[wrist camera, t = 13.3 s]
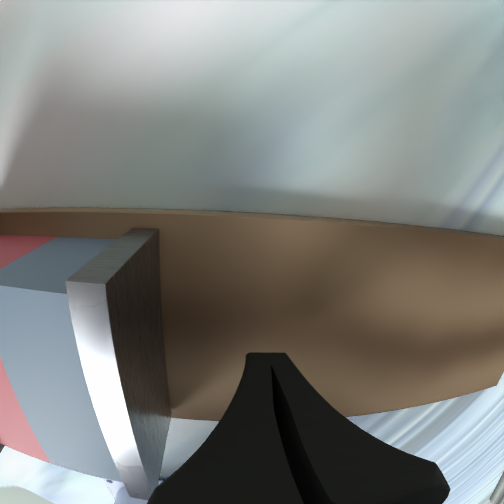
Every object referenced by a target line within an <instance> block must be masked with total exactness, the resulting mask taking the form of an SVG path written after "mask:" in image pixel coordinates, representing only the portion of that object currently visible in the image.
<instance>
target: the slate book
mask: <svg viewBox="0 0 504 504" xmlns="http://www.w3.org/2000/svg"><path fill="white" fill-rule="evenodd" d="M116 240H117V239H97V238H71V237H56V238H54V239H52V240H51V241H49V242H47V243H45V244H43V245H41V246H39V247H38V248H36V249H34V250H32V251H30V252H29V253H27V254H25V255H23V256H22V257H20V258H18V259H16V260H15V261H13V262H11V263H10V264H8V265H6V266H4V267H3V268H1V269H0V357H1V360H2V363H3V366H4V368H5V371H6V374H7V376H8V379H9V381H10V384H11V386H12V388H13V391H14V393H15V395H16V398H17V400H18V402H19V404H20V406H21V409H22V411H23V413H24V415H25V417H26V419H27V421H28V423H29V425H30V427H31V429H32V431H33V433H34V434H35V436H36V438H37V440H38V442H39V444H40V445H41V447H42V449H43V451H44V452H45V454H46V456H47V457H48V459H49V461H50V462H51V464H54V465H58V466H61V467H64V468H67V469H70V470H74V471H77V472H81V473H84V474H88V475H92V476H96V477H100V478H104V479H109V480H113V481H118V482H123V481H122V479H121V477H120V475H119V472H118V470H117V468H116V465H115V463H114V460H113V458H112V456H111V453H110V451H109V448H108V445H107V443H106V440H105V438H104V435H103V432H102V429H101V426H100V424H99V421H98V418H97V415H96V412H95V409H94V406H93V402H92V399H91V396H90V393H89V389H88V386H87V382H86V379H85V375H84V371H83V368H82V364H81V360H80V356H79V352H78V347H77V343H76V338H75V334H74V329H73V324H72V319H71V314H70V308H69V302H68V296H67V290H66V283H65V280H67V279H68V278H69V277H70V276H71V275H73V274H74V273H75V272H76V271H77V270H79V269H80V268H81V267H82V266H84V265H85V264H86V263H87V262H89V261H90V260H91V259H92V258H94V257H95V256H96V255H98V254H99V253H100V252H101V251H103V250H104V249H105V248H107V247H108V246H109V245H110V244H112V243H113V242H114V241H116Z"/></svg>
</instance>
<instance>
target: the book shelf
mask: <svg viewBox="0 0 504 504" xmlns="http://www.w3.org/2000/svg"><path fill="white" fill-rule="evenodd" d="M132 228H157V229H159V256H160V286H161V307H162V323H163V337H164V349H165V360H166V371H167V380H168V389H169V398H170V406H171V413H172V414H171V418H181V419H194V420H209V421H220V420H221V418H222V417H223V415H224V413H225V412H226V410H227V408H228V406H229V404H230V402H231V400H232V398H233V396H234V394H235V392H236V390H237V388H238V385H239V383H240V380H241V377H242V374H243V371H244V367H245V357H246V354H248V353H249V352H261V353H284V352H285V353H286V354H287V355H288V356H289V358H290V359H291V360H292V362H293V363H294V364H295V366H296V367H297V368H298V370H299V371H300V372H301V373H302V375H303V376H304V377H305V378H306V379H307V381H308V382H309V383H310V384H311V385H312V386H313V387H314V388H315V390H316V391H317V392H318V393H319V394H320V395H321V396H322V397H323V398H324V399H325V400H326V401H327V402H328V403H329V404H330V405H331V406H332V407H333V408H335V409H336V410H337V411H338V412H339V413H340V414H342V415H343V416H344V417H350V416H359V415H367V414H374V413H381V412H387V411H393V410H399V409H404V408H410V407H415V406H420V405H425V404H429V403H434V402H438V401H443V400H447V399H451V398H455V397H459V396H462V395H466V394H470V393H473V392H477V391H480V390H483V389H487V388H490V387H493V386H496V385H497V384H498V382H499V380H500V378H501V376H502V374H503V372H504V236H499V235H491V234H484V233H476V232H468V231H459V230H451V229H442V228H433V227H424V226H414V225H404V224H394V223H384V222H373V221H361V220H349V219H337V218H324V217H310V216H295V215H280V214H263V213H245V212H225V211H201V210H173V209H135V208H14V209H0V235H20V236H48V237H71V238H97V239H118V238H120V237H121V236H122V235H124V234H125V233H126V232H128V231H129V230H130V229H132ZM4 446H5V445H3V444H1V443H0V453H1V451H2V449H3V447H4Z"/></svg>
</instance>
